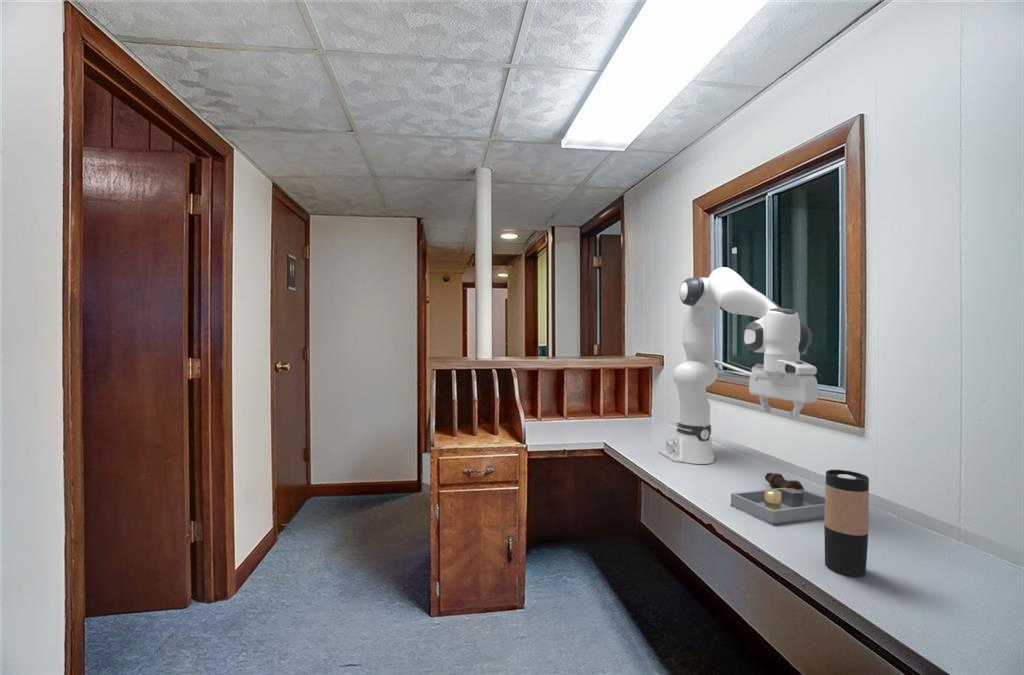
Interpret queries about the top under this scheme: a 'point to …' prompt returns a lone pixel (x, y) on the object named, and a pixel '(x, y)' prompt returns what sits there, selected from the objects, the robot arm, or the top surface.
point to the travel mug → (846, 522)
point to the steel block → (792, 497)
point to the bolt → (781, 481)
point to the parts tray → (755, 506)
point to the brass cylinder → (772, 499)
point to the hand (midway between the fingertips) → (780, 414)
